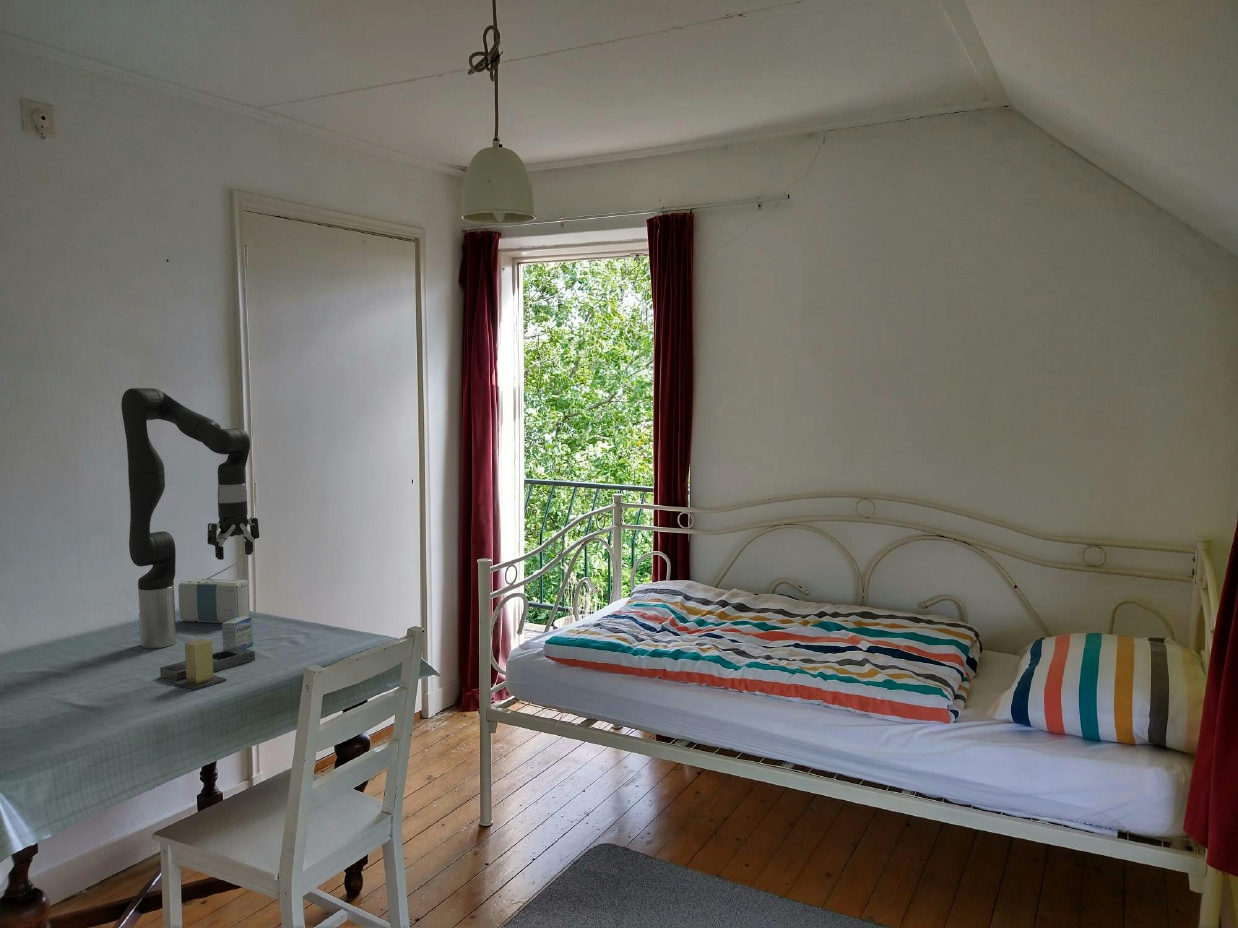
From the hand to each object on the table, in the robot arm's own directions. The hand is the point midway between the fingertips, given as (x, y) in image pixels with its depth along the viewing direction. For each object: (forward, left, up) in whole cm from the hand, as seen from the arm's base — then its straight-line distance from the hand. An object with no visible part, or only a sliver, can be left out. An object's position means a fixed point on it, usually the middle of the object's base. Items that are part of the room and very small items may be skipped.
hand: (234, 556), depth 244 cm
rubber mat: (+15, -20, -28) cm, 37 cm away
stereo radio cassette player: (-39, +17, -28) cm, 51 cm away
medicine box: (-4, +3, -28) cm, 28 cm away
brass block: (+15, -20, -27) cm, 37 cm away
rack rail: (+6, -12, -28) cm, 31 cm away
